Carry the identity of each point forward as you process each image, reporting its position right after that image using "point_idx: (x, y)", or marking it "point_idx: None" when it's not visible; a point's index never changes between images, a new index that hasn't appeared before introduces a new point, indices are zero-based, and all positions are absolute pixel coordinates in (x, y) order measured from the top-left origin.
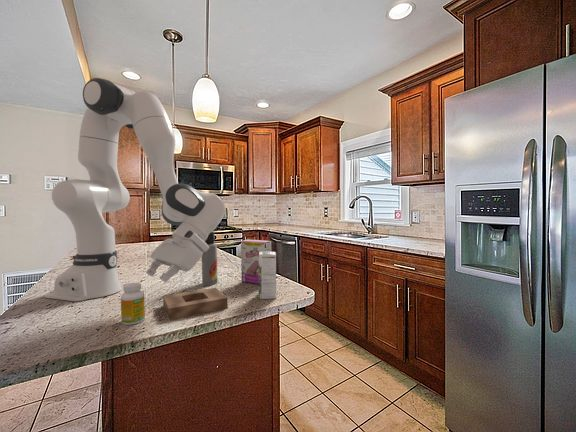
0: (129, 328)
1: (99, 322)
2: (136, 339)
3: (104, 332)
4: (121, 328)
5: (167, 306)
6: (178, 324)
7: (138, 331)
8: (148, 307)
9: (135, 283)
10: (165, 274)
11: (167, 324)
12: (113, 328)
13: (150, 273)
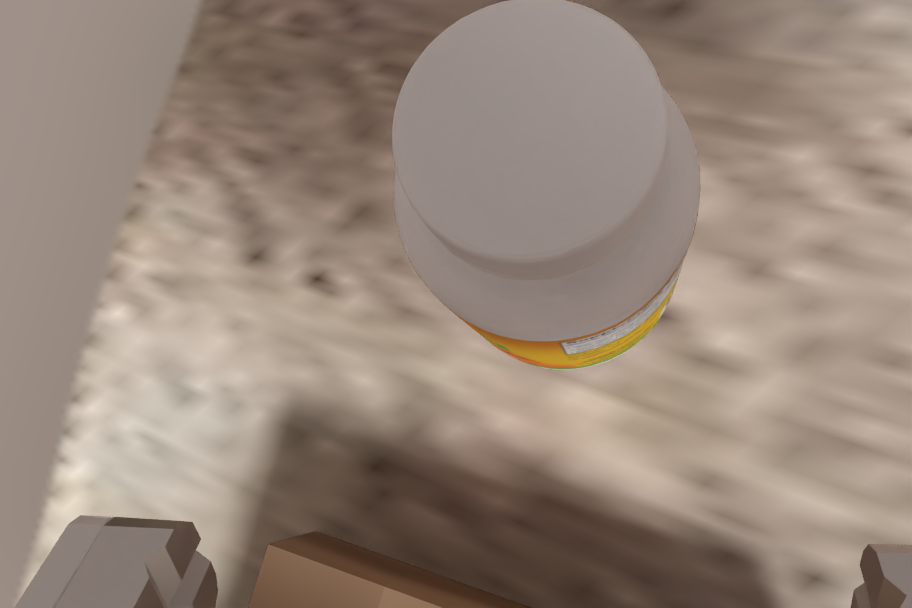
0: None
1: (797, 12)
2: (153, 166)
3: None
4: None
5: (384, 583)
6: None
7: (285, 223)
8: (901, 544)
9: (570, 190)
10: (19, 604)
11: (226, 466)
12: None
13: (868, 600)
